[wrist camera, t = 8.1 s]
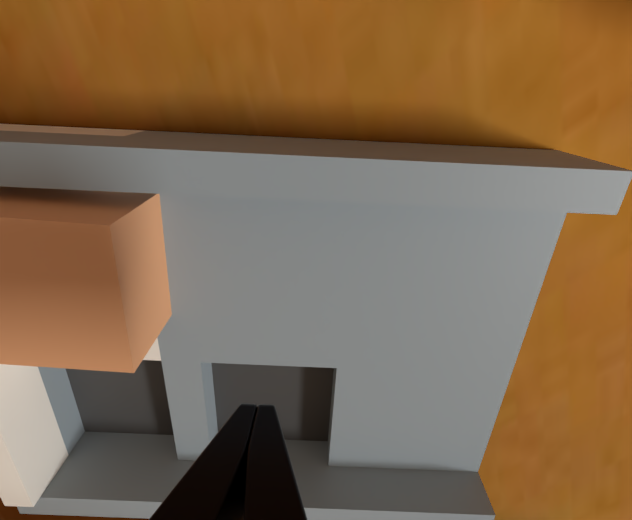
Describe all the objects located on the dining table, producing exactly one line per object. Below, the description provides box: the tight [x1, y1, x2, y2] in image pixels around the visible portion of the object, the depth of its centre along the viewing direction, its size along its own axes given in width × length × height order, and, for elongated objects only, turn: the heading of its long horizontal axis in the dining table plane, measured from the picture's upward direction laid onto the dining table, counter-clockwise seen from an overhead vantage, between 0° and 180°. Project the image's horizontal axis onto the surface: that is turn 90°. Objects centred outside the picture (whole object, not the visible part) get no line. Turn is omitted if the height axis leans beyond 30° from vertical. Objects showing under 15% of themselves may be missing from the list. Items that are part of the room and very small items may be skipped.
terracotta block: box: [0, 186, 172, 373], centre depth 15 cm, size 6×6×4 cm
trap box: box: [0, 124, 632, 520], centre depth 18 cm, size 26×20×5 cm
